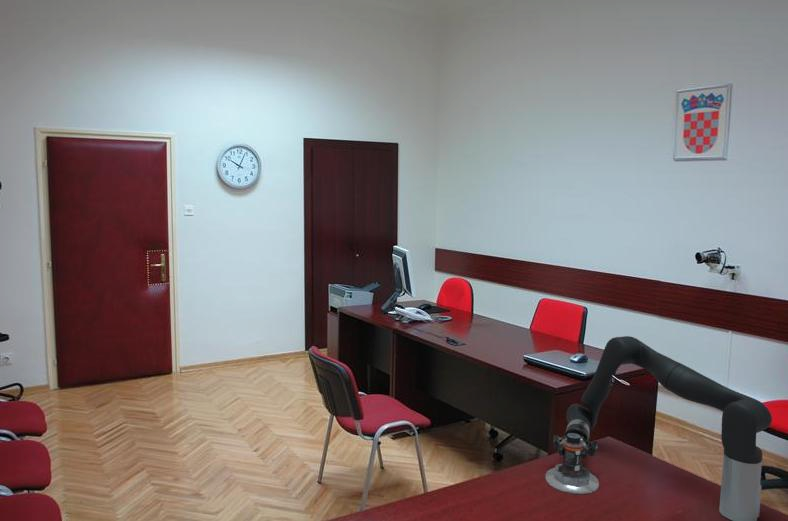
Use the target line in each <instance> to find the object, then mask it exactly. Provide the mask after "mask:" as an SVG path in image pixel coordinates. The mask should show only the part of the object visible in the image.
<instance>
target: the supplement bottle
mask: <svg viewBox="0 0 788 521" xmlns="http://www.w3.org/2000/svg"><path fill="white" fill-rule="evenodd" d="M582 452H583V444H582V442H581V441H580V435H578V434H576V433H568V434H567V440H565V441H564V443H563V455H562V463H561V464H562V467H563V469H564V470H565V471H566V472H569V473H580V472H581V471H582V466H583V459H582Z"/></svg>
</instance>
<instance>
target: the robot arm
mask: <svg viewBox="0 0 788 521" xmlns="http://www.w3.org/2000/svg"><path fill="white" fill-rule="evenodd" d="M623 365H635V366H637V367H640V368H641V369H644V370H646V371H648V372H649V373H650V374H651V375H652V376H653V377H654V379H655V380H656V381H657V382H658V383H659V384H660V385H661V387H663V388H664V389H666V390H667V391H669V392H670V393H673V394H674V395H676V396H678V397H679V398H681V399H684V400H686V401H689V402H692V403H693V402H694V403H697V404H699V405H700V404H701V405H704V406H707V407H711V408H714V409H717V410H719V411H721V412H722V415H721V416H722V417H721V437H720V438H721V444H722V446H723V454H722V455H723V457H722V467H721V468H722V469H721V480H720V482H721V484H720V498H719V514H721V516H723V517H724V518H725V519H728V520H730V521H758V518H760V513H761V512H760V511H761V510H760V509H761V499H762V489H763V488H762V484H761V477H762V464H763V463H762V462H763V451H762V449H761V448H760V447H759V446H757V433H760V432H763V431H764V430H766V429H768V428H770V426H771V424H772V422H773V416H772V413H771V411H770V409H769V408H768V407H767V406H766V405H765V404H764V403H763V402H761V401H760V400H758V399H756V398H754V397H751V396H748V395H746V394H743V393H741V392H738V391H736V390H734V389H731V388H729V387H727V386H725V385H723V384H721V383H719V382H717V381H715V380H713V379H712V378H710V377H707V376H705V375H704V374H702V373H700V372H698V371H696V370H694V369H693V368H691V367H689V366H687V365H685V364H683V363H682V362H679V361H676V360H675V359H672V358H671V357H668V356H666V355H664V354H662V353H660V352H658V351H657V350H654V348H651V347H650V346H648V345H647V344H645V343H644V342H642V341H641V340H639V339H638V338H636V337H634V336H630V335H627V336H626V335H625V336H615V337H612V338H611V339H609V340H608V341H607V343H606V345H605V347H604V349H603V352H602V355H601V356H600V360H599V362H598V365H597V368H596V370H595V372H594V375H593V377H592V379H591V381H590V383H589V384H588V386H587V388H586V389H585V390H584V393H583V394H582V396H581V402H582V404H583V406H582V405H581V404H579V403H573V404H571V405H570V406H568V408H567V410H566V417H565V418H566V421H567V427H566V428H565V429H566V430H565V433H564V435H563V436H562V437H560V436H559V435H558V434H554V435H553V449H554V450H557V454H559V456H562V457H563V443H564V441H565V440H567V434H568V433H576V434H578V435H580V441H581V442H582V444H583V452H582V461H584V460H585V459H588V455H589V456H592V457H594V456H595V454H596V453H597V451H598V441H593V442H590V440H589V439H590V431H591V430H593V429H594V428H595V427H596V424H597V422H598V416H599V413H600V410H601V408H602V405H603V404H604V403H605V401H606V399H607V397H608V396H609V393H610V392H611V387H612V386H611V385H612V378H613V376H614V373H615V372H616V371H617V370H618V368H620V366H623Z"/></svg>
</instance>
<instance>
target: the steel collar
mask: <svg viewBox="0 0 788 521" xmlns="http://www.w3.org/2000/svg"><path fill="white" fill-rule="evenodd" d="M545 482H546V483H547V484H548V485H549V486H550V487H551V488H553V489H556V490H557V491H560V492H563V493H566V494H567V493H568V494H571V495H572V494H573V495H588V494H593V493H595V492H596V491H597V490H598V489H599V487H600V482H599V479H598V477H597V476H595V475H594V474H592V473H591V471H590V470H589V469H588V468H586V467H584V466H583V465H582V471H581V472H580V473H569V472H566V471H565V470H564V469H563V467H562V463H558V464H555V467H553V468H550V469H548V470H547V471H546V472H545Z"/></svg>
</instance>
